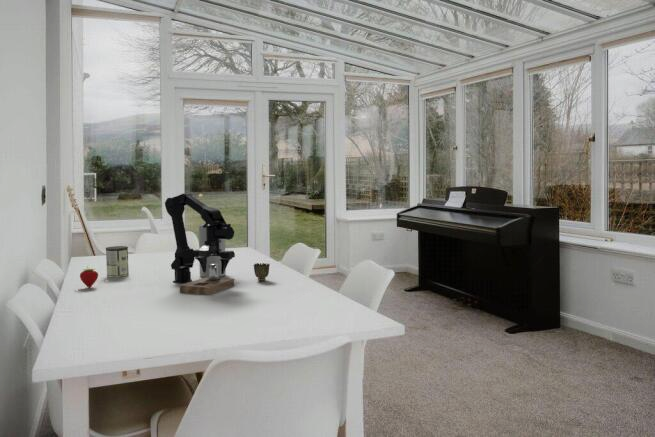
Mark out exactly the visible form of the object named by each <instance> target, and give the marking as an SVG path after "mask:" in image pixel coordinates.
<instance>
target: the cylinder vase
mask: <svg viewBox="0 0 655 437" xmlns="http://www.w3.org/2000/svg"><path fill="white" fill-rule="evenodd" d="M203 225H205V223H204V224H199V225H198V249H200V248H201V247H202V246H204V242H205V241H206V228H203ZM220 240H221V242H220V249H221V252H223V251H226V239H220ZM220 259H222V258H221V257H220V256H209V257H207V265H206V272H205V273H204V272H203V270H202V267H201V264H200V262H199V261H198V262H199V263H198V264H199V276H200V277H201V278H205V277H209V264H218V278H223V277H224V276H226V274H227V272H226V271H227V270H226V269H227V268H226V269H225V272H224V274H222V272H221V261H220Z"/></svg>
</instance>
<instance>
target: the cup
mask: <svg viewBox="0 0 655 437" xmlns="http://www.w3.org/2000/svg"><path fill="white" fill-rule="evenodd" d="M253 272H254V276H255V277H256V278H257V281H258V282H266V278H267V277H268V276H269V273H270V263H266V262H265V263H264V262H263V263H261V262H260V263H258V262H256V263H254V264H253Z"/></svg>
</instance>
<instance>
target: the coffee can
mask: <svg viewBox="0 0 655 437" xmlns="http://www.w3.org/2000/svg"><path fill="white" fill-rule="evenodd" d="M128 248H129V247H128V246H125V245H124V246H123V245H117V246H107V247H105V258H106V260H105V261H106V277H107V278H123V277H128V276H129V249H128Z"/></svg>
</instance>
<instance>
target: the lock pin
mask: <svg viewBox="0 0 655 437" xmlns="http://www.w3.org/2000/svg"><path fill="white" fill-rule="evenodd" d="M218 278H219V277H218V264H209V281H218Z"/></svg>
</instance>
